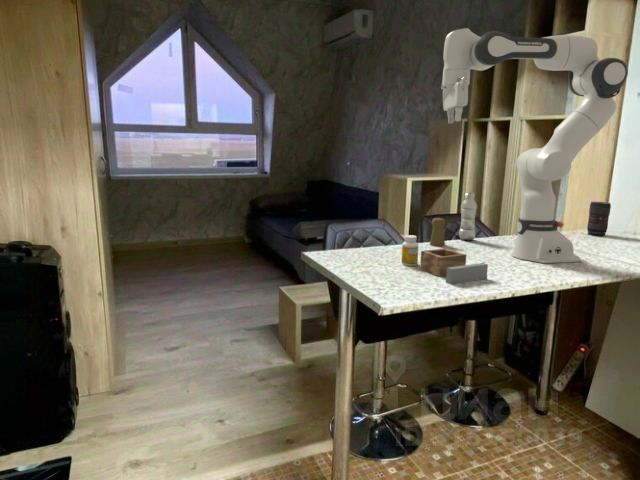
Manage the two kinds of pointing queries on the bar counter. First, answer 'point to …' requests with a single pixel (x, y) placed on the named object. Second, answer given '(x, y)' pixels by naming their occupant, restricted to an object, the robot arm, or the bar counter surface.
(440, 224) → the cork
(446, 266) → the walnut socket block
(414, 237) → the supplement bottle
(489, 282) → the bar counter surface
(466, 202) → the plastic bottle
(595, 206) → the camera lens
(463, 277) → the slate wall
